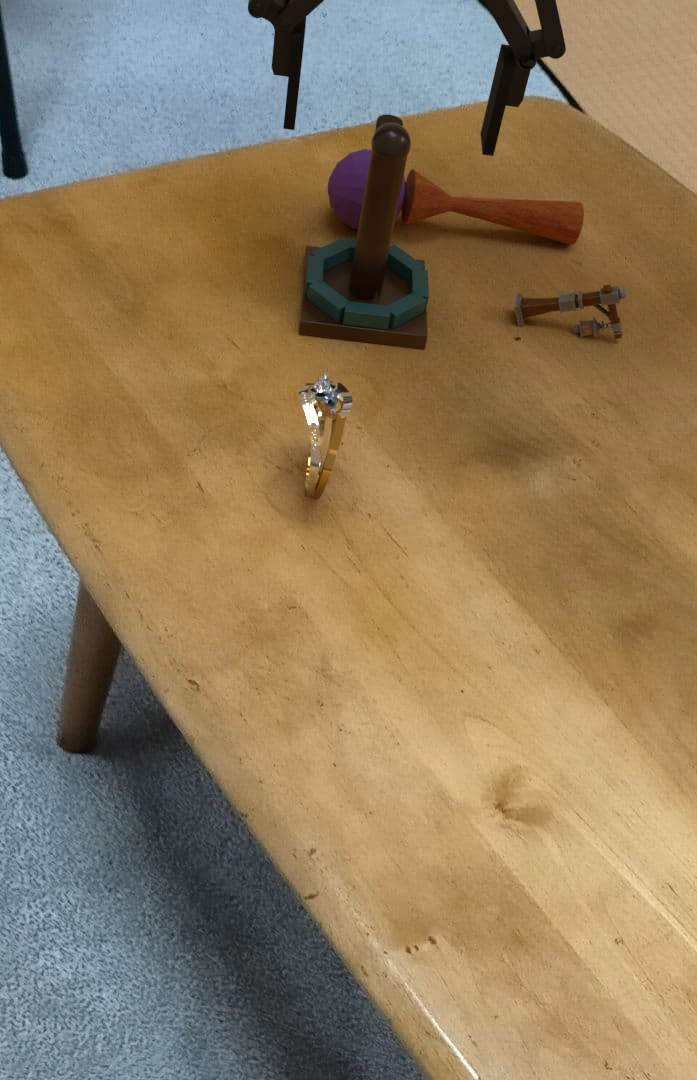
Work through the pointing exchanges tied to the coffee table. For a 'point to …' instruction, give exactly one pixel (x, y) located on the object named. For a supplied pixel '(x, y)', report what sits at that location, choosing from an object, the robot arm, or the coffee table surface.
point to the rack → (371, 253)
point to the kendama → (451, 203)
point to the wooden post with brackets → (571, 302)
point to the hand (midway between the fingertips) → (388, 132)
